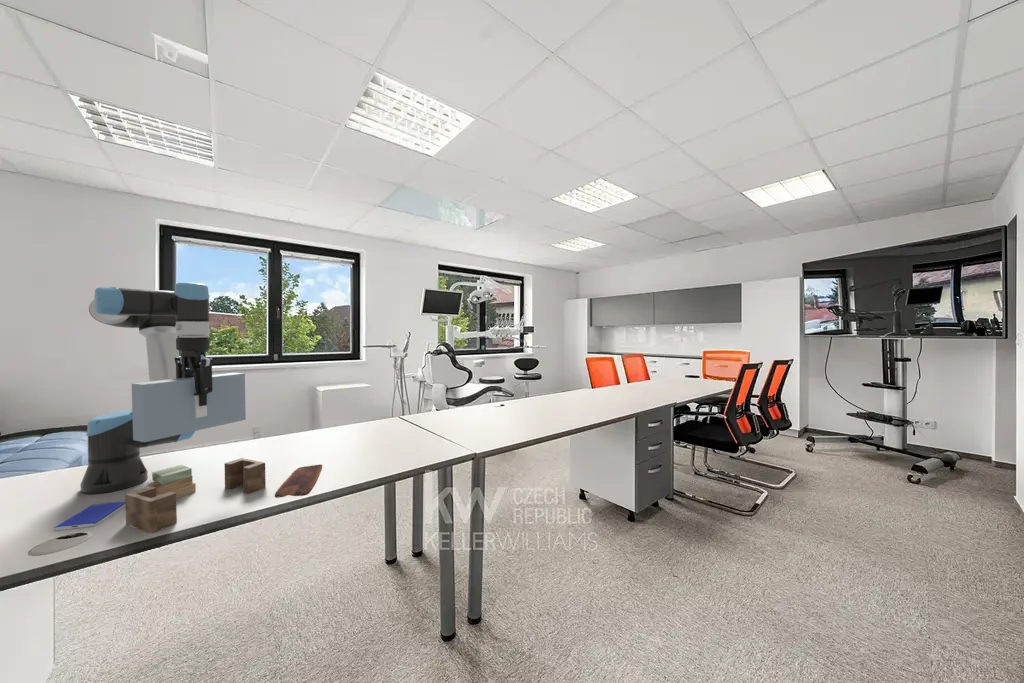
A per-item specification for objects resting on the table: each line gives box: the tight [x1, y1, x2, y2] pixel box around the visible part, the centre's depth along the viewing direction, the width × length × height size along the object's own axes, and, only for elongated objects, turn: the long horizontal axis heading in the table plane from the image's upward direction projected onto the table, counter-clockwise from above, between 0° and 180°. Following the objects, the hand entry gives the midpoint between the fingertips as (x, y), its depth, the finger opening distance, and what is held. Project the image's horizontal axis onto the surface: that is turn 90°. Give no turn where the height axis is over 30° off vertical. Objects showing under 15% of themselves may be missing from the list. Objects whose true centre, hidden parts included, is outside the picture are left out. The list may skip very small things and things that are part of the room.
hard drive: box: [53, 500, 126, 531], centre depth 104 cm, size 2×8×12 cm
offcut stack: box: [148, 464, 197, 499], centre depth 117 cm, size 8×9×8 cm
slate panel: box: [131, 372, 247, 442], centre depth 112 cm, size 5×26×15 cm, turn 159°
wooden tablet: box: [274, 463, 323, 498], centre depth 130 cm, size 26×2×10 cm
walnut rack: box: [124, 457, 266, 534], centre depth 112 cm, size 11×30×8 cm, turn 159°
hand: (194, 415), depth 112 cm, fingers closed on slate panel, 5 cm apart
